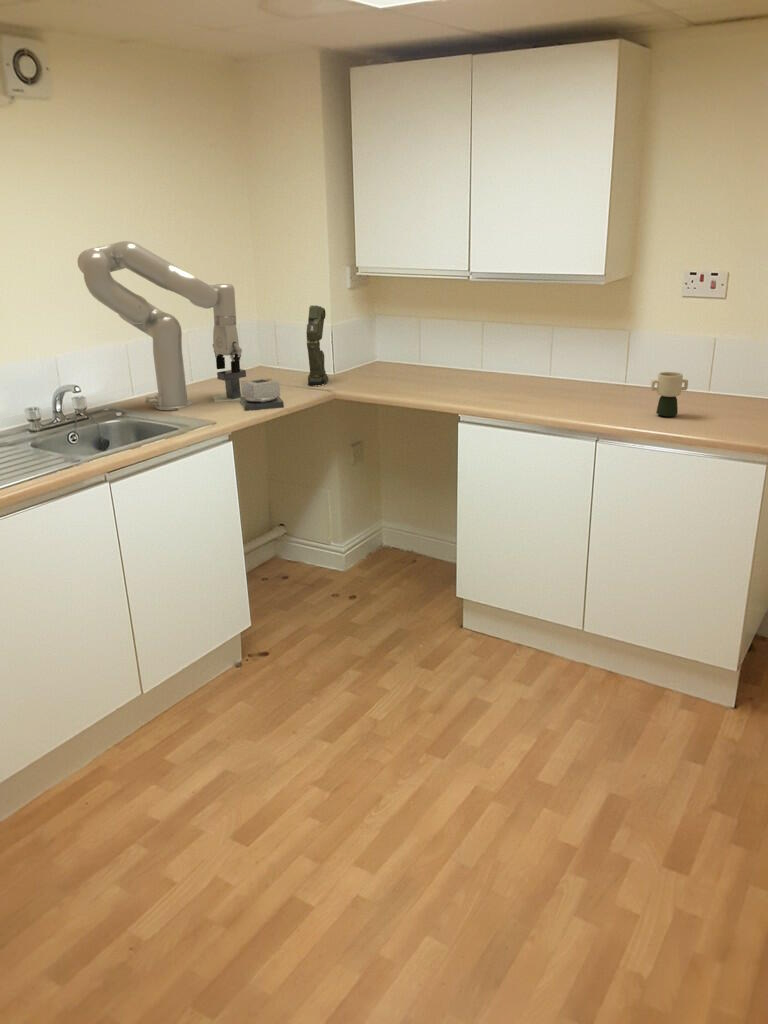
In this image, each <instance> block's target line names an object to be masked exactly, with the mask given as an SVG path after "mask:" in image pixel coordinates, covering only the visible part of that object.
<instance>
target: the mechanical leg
mask: <svg viewBox="0 0 768 1024" xmlns="http://www.w3.org/2000/svg"><path fill="white" fill-rule="evenodd" d="M308 308H309V309H308V319H307V324H306V333H305V334H306V349H307V355H308V363H309V364H308V365H309V366H308V367H309V374H308V375H307V382H308V383H307V386H308V385H322V384H324V383H325V384H327V382H328V381H329V376H328V375H327V373H326V369H325V354H324V351H323V350H322V349H321V346H320V342H321V340H322V339H323V335H324V334H323V332H324V324H325V318H326V309H325V307H323V306H320V305H310V306H309V307H308ZM325 384H324V385H325ZM322 386H323V385H322Z"/></svg>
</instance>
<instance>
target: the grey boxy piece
mask: <svg viewBox="0 0 768 1024" xmlns="http://www.w3.org/2000/svg"><path fill="white" fill-rule="evenodd" d="M240 389H241V394H242V396H245V400H246V401H249V402H267V401H272V400H275V399H277V396H279V397H281V391H280V390H281V389H280V381H279V380H276V379H272V378H270V377H260V378H259V377H258V378H251V379H245V380H240Z"/></svg>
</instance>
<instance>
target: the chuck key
mask: <svg viewBox="0 0 768 1024" xmlns="http://www.w3.org/2000/svg"><path fill="white" fill-rule="evenodd" d="M216 375H217V380H220V381H224V384H225V394H226V395H227V398H230V399H235V398H240V397H241V394H242V392H241V380H240V379H241V378H246V377H247V371H246V369H243V368H240V372H237V373H232V372H231V369H229V370H222V371H218V372H216Z"/></svg>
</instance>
